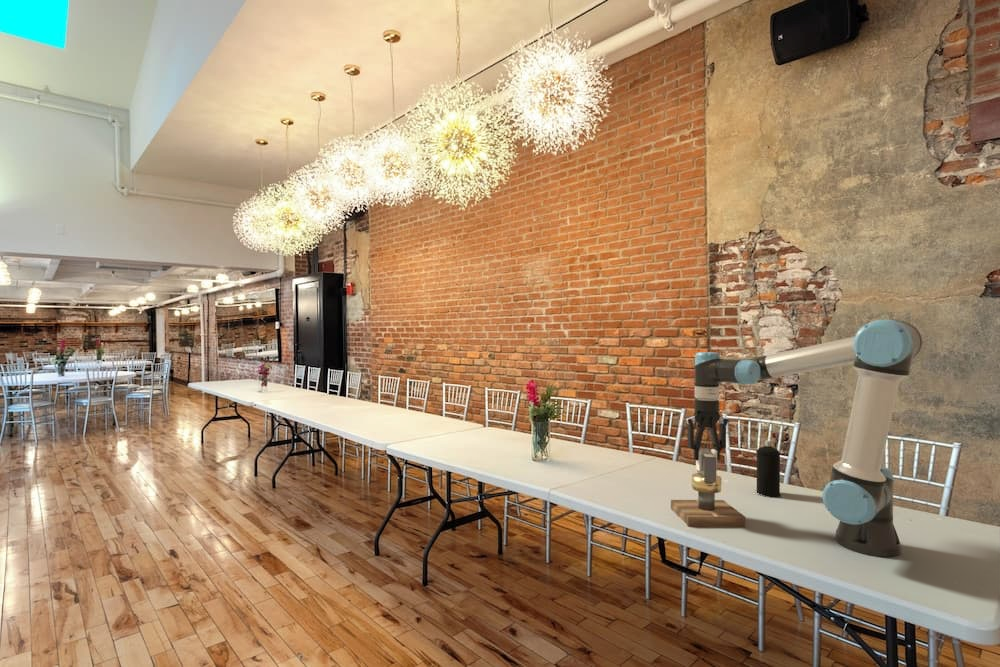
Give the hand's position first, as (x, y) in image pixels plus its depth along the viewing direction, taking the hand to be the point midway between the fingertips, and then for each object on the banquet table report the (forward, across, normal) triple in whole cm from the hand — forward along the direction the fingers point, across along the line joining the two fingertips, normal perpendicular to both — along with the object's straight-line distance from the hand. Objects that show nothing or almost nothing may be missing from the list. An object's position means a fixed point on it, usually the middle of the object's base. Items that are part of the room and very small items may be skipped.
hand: (706, 469), depth 167 cm
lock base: (+16, 0, 0) cm, 16 cm away
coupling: (+6, 0, 0) cm, 6 cm away
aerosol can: (+16, +34, +23) cm, 44 cm away
